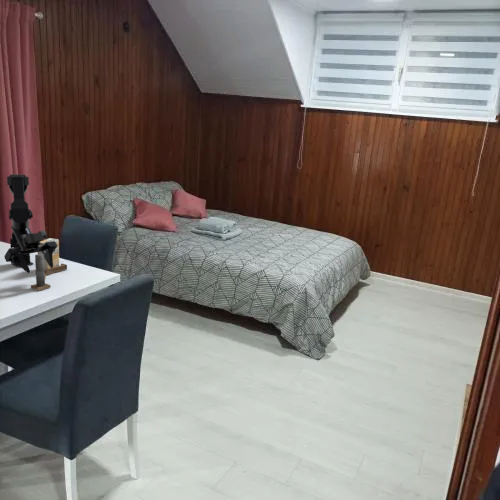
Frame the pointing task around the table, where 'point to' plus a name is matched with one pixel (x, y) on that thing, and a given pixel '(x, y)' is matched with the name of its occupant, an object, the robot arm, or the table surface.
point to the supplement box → (54, 256)
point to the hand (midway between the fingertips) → (41, 269)
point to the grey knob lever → (44, 272)
